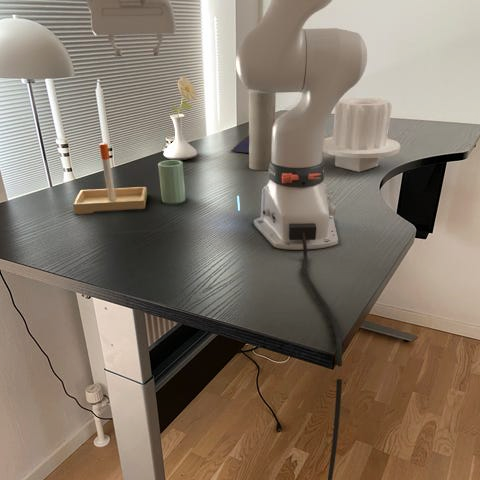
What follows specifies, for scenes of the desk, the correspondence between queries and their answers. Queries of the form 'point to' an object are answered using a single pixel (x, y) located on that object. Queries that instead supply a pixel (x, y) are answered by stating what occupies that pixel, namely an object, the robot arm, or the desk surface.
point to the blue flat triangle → (242, 146)
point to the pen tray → (100, 201)
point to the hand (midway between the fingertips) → (137, 56)
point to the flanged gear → (360, 133)
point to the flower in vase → (180, 146)
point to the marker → (107, 171)
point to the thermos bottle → (260, 128)
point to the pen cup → (172, 181)
